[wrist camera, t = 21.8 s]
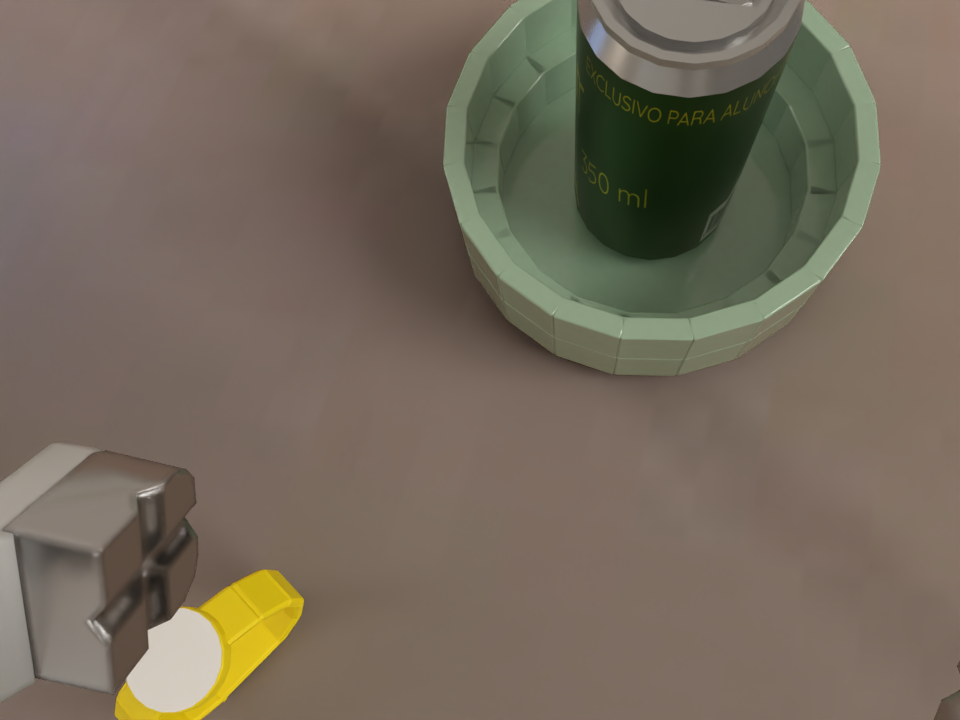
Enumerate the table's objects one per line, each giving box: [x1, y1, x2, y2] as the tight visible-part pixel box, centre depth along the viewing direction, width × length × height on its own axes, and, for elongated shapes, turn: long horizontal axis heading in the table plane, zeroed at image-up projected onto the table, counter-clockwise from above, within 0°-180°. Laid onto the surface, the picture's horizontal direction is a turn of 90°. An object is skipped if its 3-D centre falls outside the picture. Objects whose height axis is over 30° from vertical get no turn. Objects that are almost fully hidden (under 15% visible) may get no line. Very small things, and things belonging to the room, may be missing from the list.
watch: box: [115, 570, 304, 720], centre depth 27 cm, size 6×3×6 cm, turn 135°
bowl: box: [443, 0, 881, 376], centre depth 30 cm, size 13×13×5 cm
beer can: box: [574, 0, 805, 260], centre depth 26 cm, size 5×5×12 cm
